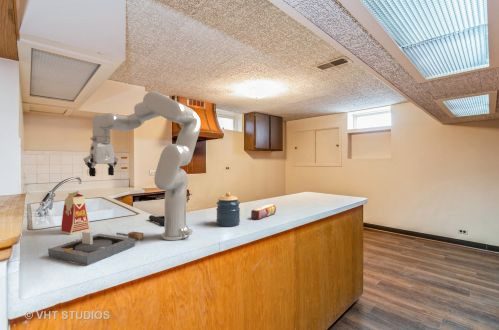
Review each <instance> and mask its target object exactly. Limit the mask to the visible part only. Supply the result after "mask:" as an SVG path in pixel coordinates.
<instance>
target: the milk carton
mask: <svg viewBox="0 0 499 330" xmlns="http://www.w3.org/2000/svg"><path fill="white" fill-rule="evenodd" d="M85 199H86V198H85V195H83V194H80V193H79V190H77V191H74V192H71V193H68V195H67V197H66V198H65V199H64V204H63V210H62V215H61V217H62V218H61V227H60V228H61V230H60V233H62V234H67V235H69V236H71V235H75V234H80V233H82V232H84V231H86V232H90V231H91V226H90V221H89V216H88V211H87V205H86V200H85Z"/></svg>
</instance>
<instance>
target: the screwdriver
mask: <svg viewBox="0 0 499 330" xmlns="http://www.w3.org/2000/svg"><path fill="white" fill-rule="evenodd" d="M116 236H124V237H125V236H126V237H127V238H132V239H135V241H138V242H139V241H142V240H144V238H145V235H144V232H139V231H131V232H128V233H121V232H116Z"/></svg>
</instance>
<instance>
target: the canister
mask: <svg viewBox="0 0 499 330" xmlns="http://www.w3.org/2000/svg"><path fill="white" fill-rule="evenodd" d="M217 200H218V201H217V202H216V206H217V207H216V208H215V209H216V225H217V226H219V227H228V228H229V227H237V226H238V225H240V223H241V220H240V218H241V217H240V216H241V214H240V213H241V211H240V210H241V208H240V203H241V202H240V201H239V198H238V196H236V195H232V194H231V192H230V191H227V192H226V193H225V195H221V196H220V197H218V198H217Z"/></svg>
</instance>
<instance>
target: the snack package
mask: <svg viewBox="0 0 499 330" xmlns="http://www.w3.org/2000/svg"><path fill="white" fill-rule="evenodd" d="M276 213H277V207H276V205H275V204H273V203H268V204H266V205H265V204H264V205H263V206H259V207H257V208H254V209H251V212H250V217H251V220H255V221H256V220H257V221H259V220H261V219H264V218H267V217H270V216H272V215H275V214H276Z"/></svg>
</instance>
